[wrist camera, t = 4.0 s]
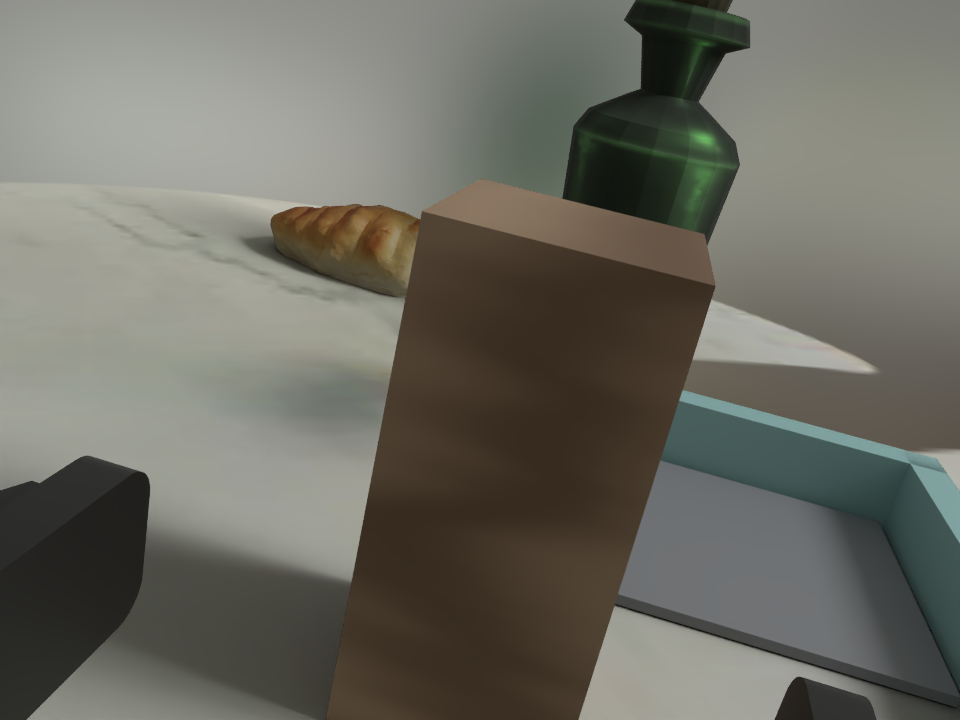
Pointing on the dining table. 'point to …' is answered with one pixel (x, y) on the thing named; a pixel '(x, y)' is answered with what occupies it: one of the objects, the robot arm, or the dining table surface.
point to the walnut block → (515, 454)
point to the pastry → (351, 244)
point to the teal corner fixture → (803, 546)
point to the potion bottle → (663, 123)
